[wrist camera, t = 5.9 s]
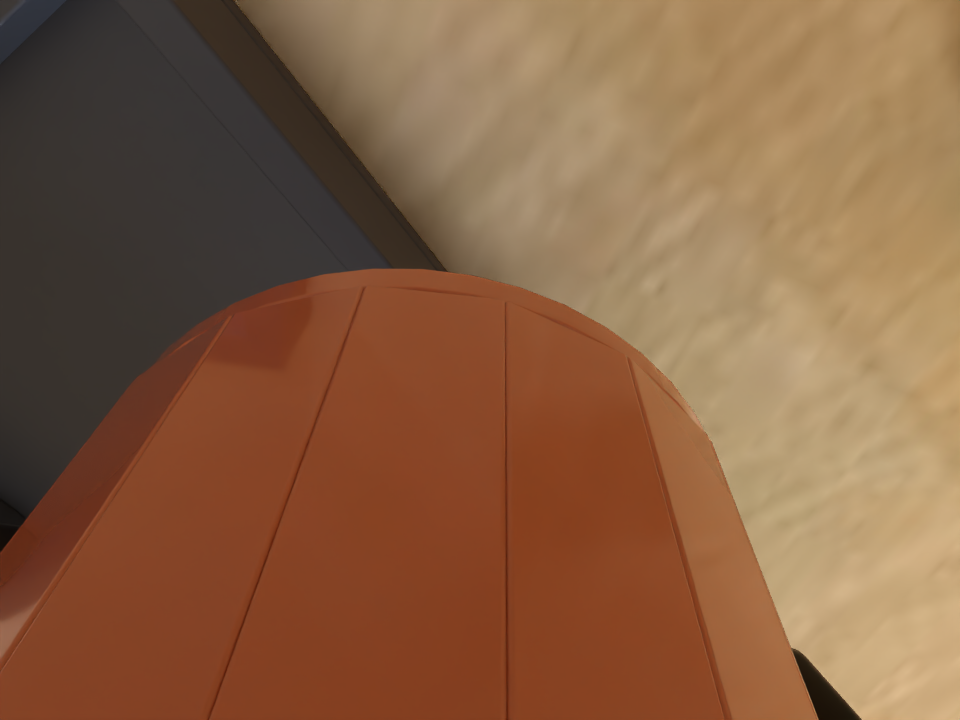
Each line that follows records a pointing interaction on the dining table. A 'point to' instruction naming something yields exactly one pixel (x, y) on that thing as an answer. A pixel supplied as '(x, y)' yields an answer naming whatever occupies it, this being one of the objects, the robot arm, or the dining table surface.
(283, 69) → the tray
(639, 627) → the big cup
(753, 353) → the dining table surface
